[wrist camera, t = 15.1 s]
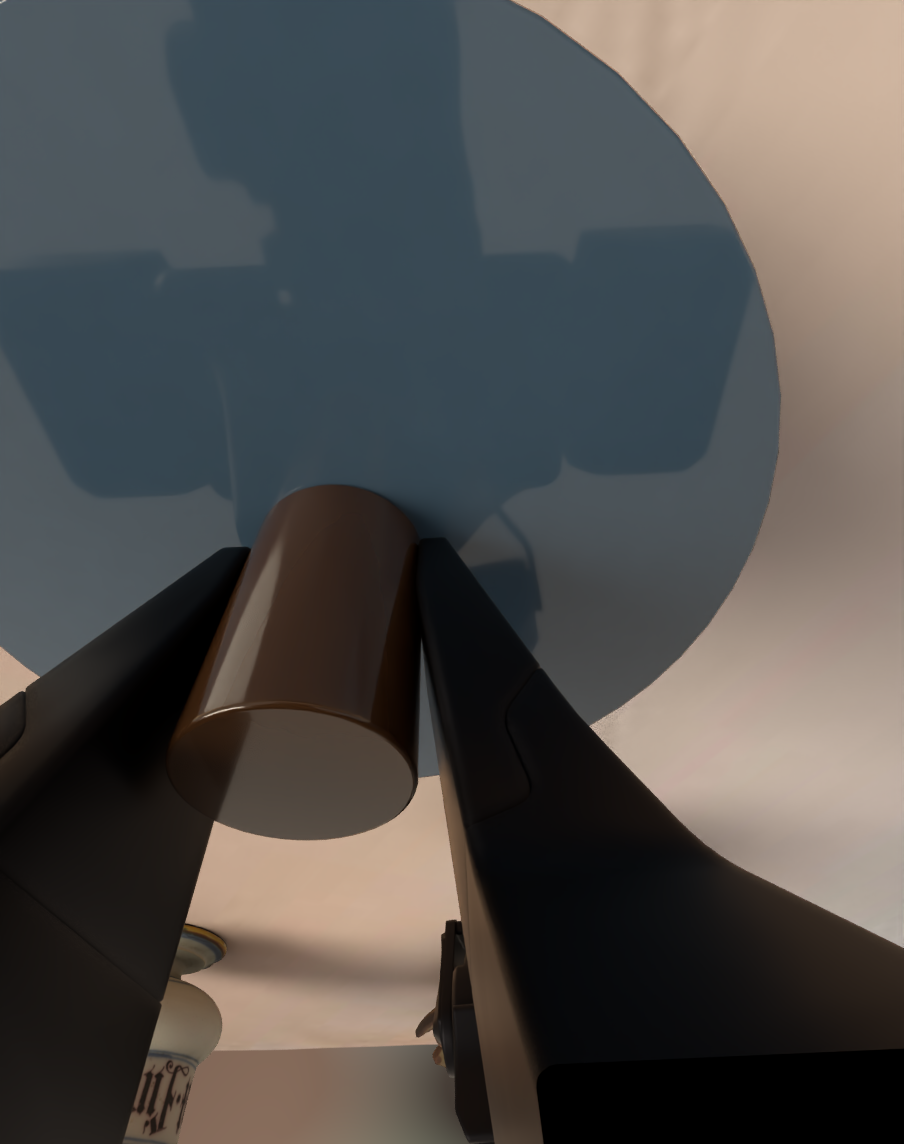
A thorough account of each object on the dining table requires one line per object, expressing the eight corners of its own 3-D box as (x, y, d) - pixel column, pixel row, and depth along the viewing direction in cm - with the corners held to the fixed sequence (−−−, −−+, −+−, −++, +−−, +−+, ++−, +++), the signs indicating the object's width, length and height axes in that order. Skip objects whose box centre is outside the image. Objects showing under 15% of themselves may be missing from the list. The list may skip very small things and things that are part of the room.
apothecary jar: (214, 975, 52) (133, 1293, 38) (72, 954, 47) (-78, 1304, 33) (262, 932, 45) (186, 1294, 32) (104, 903, 41) (-65, 1308, 27)
